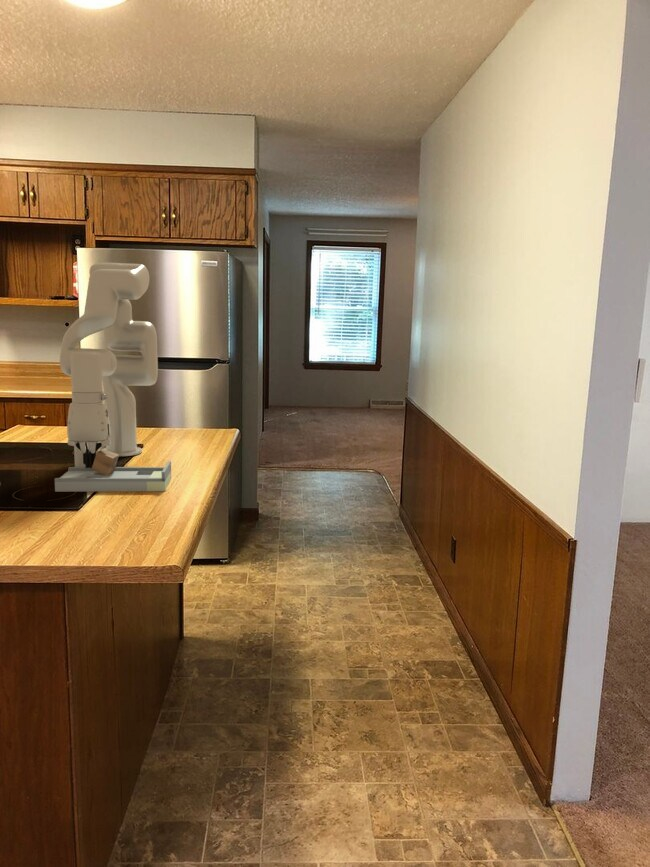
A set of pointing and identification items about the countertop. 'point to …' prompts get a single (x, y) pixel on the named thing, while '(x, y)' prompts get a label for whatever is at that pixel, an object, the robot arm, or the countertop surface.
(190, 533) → the countertop surface
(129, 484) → the trap box
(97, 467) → the block
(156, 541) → the countertop surface
